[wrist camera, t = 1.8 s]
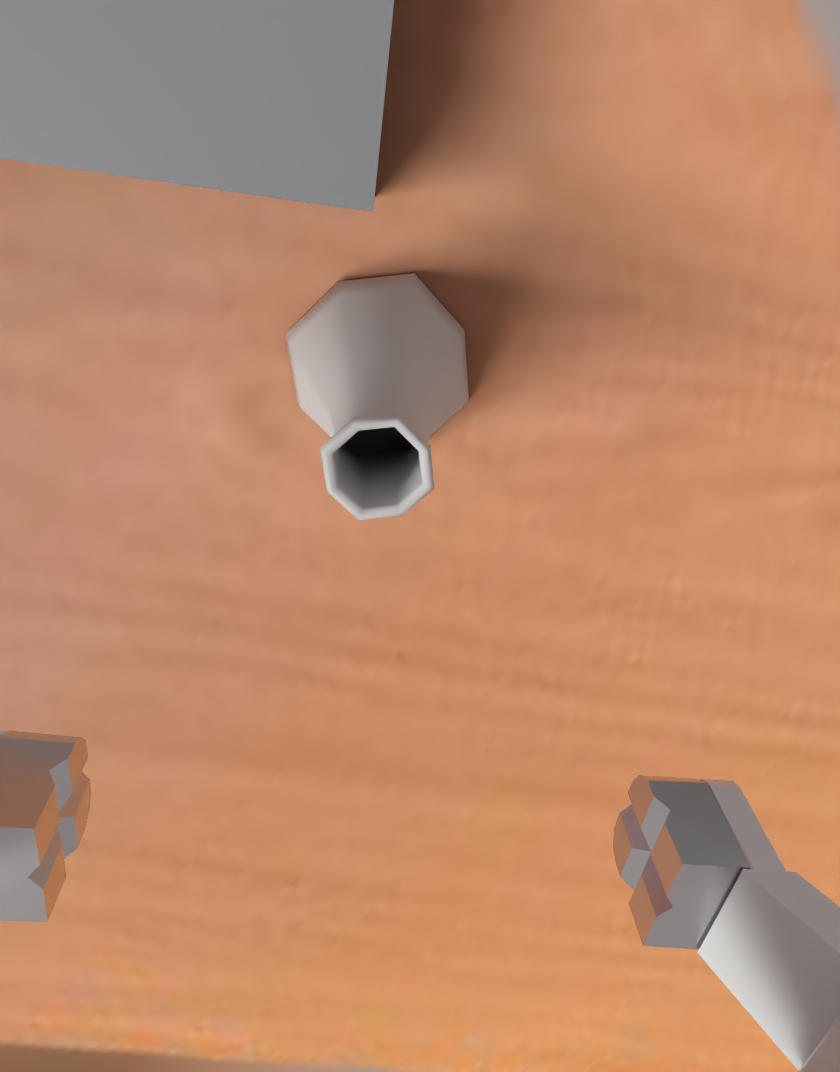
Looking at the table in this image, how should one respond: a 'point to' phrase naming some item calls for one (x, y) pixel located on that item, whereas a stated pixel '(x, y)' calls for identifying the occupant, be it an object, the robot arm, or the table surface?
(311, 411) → the flask
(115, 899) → the table surface
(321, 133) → the grey block
